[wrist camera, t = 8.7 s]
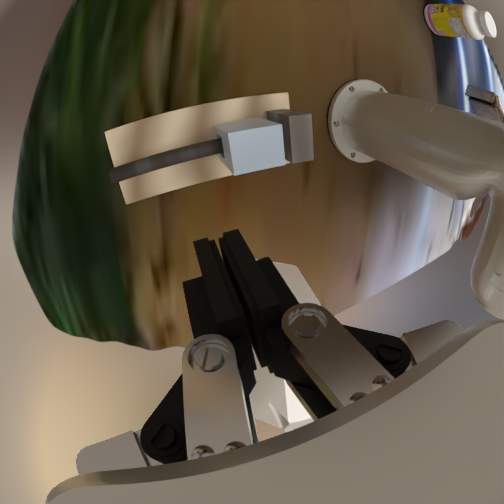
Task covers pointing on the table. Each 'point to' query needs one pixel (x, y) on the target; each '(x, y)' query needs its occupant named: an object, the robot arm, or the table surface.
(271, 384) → the milk
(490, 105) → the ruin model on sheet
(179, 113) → the board
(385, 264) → the table surface
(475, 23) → the supplement bottle
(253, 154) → the sleeve
